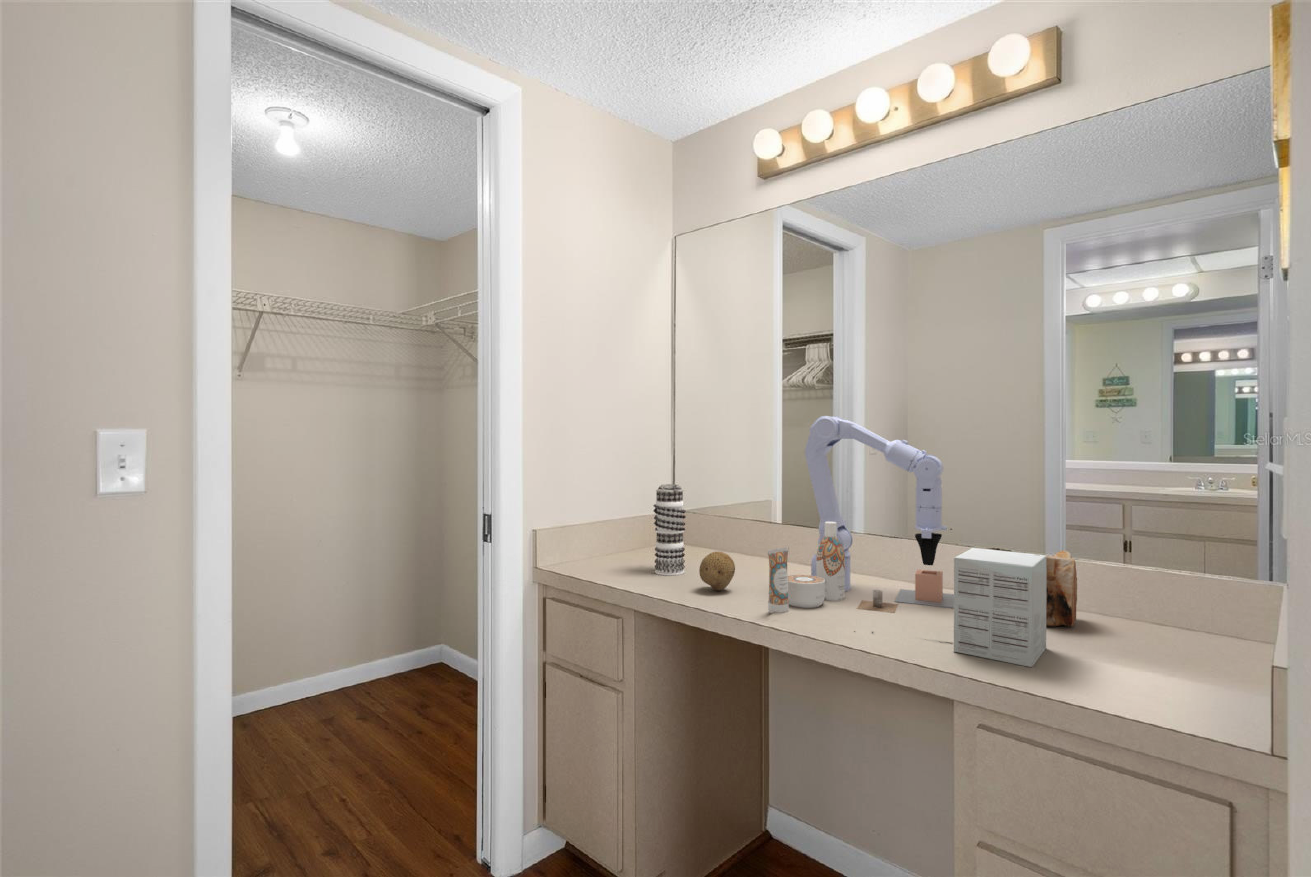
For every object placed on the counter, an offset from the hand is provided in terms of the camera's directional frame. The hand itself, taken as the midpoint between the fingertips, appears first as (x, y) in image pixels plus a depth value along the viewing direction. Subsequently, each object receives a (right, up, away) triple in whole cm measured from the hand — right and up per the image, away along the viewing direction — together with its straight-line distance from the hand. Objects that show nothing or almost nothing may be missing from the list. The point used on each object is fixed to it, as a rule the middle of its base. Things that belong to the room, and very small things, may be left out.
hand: (928, 564), depth 157 cm
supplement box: (-1, -10, -34) cm, 35 cm away
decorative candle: (-60, -9, +34) cm, 70 cm away
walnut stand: (-14, -9, -6) cm, 18 cm away
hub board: (0, -9, 0) cm, 9 cm away
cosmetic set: (-30, -9, -4) cm, 31 cm away
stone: (+20, -9, -17) cm, 28 cm away
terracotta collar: (0, -8, 0) cm, 8 cm away
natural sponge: (-49, -9, +11) cm, 51 cm away
